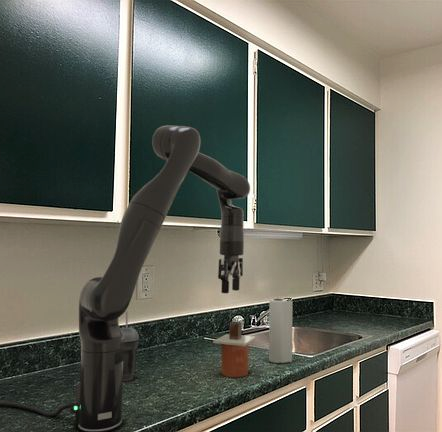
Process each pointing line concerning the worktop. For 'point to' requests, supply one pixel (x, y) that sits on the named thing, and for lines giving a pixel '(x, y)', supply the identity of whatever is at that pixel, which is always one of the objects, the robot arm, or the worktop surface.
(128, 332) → the beverage cup
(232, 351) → the tumbler
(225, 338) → the lid
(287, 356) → the paper towel roll
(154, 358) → the worktop surface
